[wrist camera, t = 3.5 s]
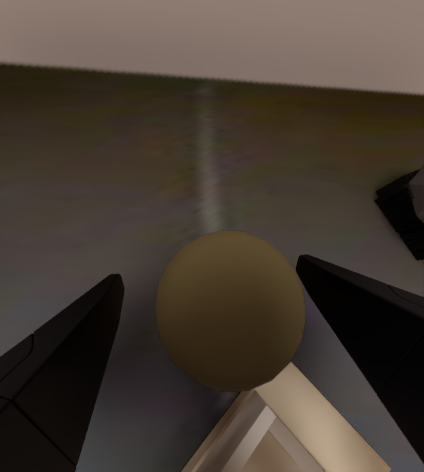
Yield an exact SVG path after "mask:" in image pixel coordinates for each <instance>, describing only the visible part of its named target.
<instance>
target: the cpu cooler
mask: <svg viewBox="0 0 424 472" xmlns="http://www.w3.org/2000/svg"><path fill="white" fill-rule="evenodd" d="M376 193H377V194H378V196H379V198H378V199H380V200H381V201H382V202H384V203H385V201H386V202H387V203H388V204H389V205H390V206H392V207H393V205H394V206H395V207H397V206H399V207H400V208H401V209H400V208H399V207H397V208H398V209H399V210H400V211H399V210H397V209H396V208H395V207H393V208H394V209H395V210H397V211H398V212H399V213H398V212H397V211H395V210H394V209H393V208H391V207H390V206H389V205H388V204H387V203H385V205H384V204H383V203H382V202H381V201H380V200H378V199H377V200H378V201H379V202H380V203H382V204H383V206H385V207H386V208H387V209H388V207H389V208H391V209H392V210H393V211H394V212H396V213H397V214H398V215H397V214H396V213H394V212H393V211H392V210H390V209H388V210H390V211H391V212H392V213H393V214H395V215H396V216H398V217H396V216H395V215H393V214H392V213H390V212H389V211H388V210H386V208H385V207H383V206H382V205H381V207H383V208H384V209H385V210H386V211H388V213H390V214H391V215H392V216H394V217H396V219H395V218H394V217H392V216H391V215H390V214H388V213H387V212H386V211H384V212H385V213H386V214H388V215H389V216H390V217H391V218H394V220H396V222H394V220H393V219H392V221H393V222H394V223H392V221H390V222H391V223H392V224H394V225H396V224H398V225H399V226H397V225H396V227H394V226H393V225H392V224H391V225H392V226H393V227H394V228H396V229H397V227H398V228H399V229H400V230H399V229H397V230H398V231H400V232H401V230H402V231H404V232H402V234H404V235H401V233H400V235H401V236H400V237H401V238H403V239H404V240H403V239H402V240H403V241H405V240H406V241H407V242H405V243H406V245H407V244H410V246H409V245H408V247H409V248H410V249H409V250H410V251H413V252H414V253H415V254H413V255H414V256H416V257H415V258H416V259H417V260H423V259H424V165H423V166H422V167H421V168H420V169H419V170H417V171H414V172H411V173H409V174H406V175H404V176H402V177H400V178H399V179H397V180H395V181H393V182H392V183H390V184H388V185H386V186H385V187H383V188H381V189H379V190H378V191H376ZM383 200H384V201H383ZM375 201H376V200H375ZM378 201H376V202H377V203H378V204H380V203H379V202H378ZM389 202H390V203H391V204H390V203H389ZM378 204H377V205H378ZM392 204H393V205H392ZM386 205H387V206H388V207H387V206H386ZM396 205H397V206H396ZM381 207H379V208H380V209H381V210H383V209H382V208H381ZM403 210H404V211H403ZM402 212H403V213H402ZM385 213H384V215H385V216H386V217H388V216H387V215H386V214H385ZM399 215H400V216H399ZM390 217H388V218H389V219H391V218H390ZM389 219H388V220H389ZM397 219H398V220H399V221H397ZM400 219H401V220H400ZM397 222H398V223H397ZM395 223H396V224H395ZM399 223H400V224H401V225H400V224H399ZM402 225H403V226H402ZM400 226H401V228H400ZM397 230H396V232H398V231H397ZM405 230H406V231H405ZM405 233H406V234H405ZM402 236H403V237H402ZM404 237H405V238H404ZM408 240H410V241H408ZM411 243H412V244H411ZM411 249H412V250H411ZM414 250H415V251H416V252H415V251H414ZM417 257H418V258H417Z"/></svg>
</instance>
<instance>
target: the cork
mask: <svg viewBox="0 0 424 472" xmlns="http://www.w3.org/2000/svg"><path fill="white" fill-rule="evenodd" d="M155 315H156V321H157V326H158V331H159V336H160V339H161V341H162V343H163V344H164V346H165V348H166V350H167V352H168V353H169V355H170V357H171V359H172V361H173V362H174V363H175V364H176V365H177V366H178V367H179V368H181V369H182V370H183V371H184V372H185V373H186V374H187V375H188V376H190V377H191V378H192V379H193V380H194V381H195V382H197V383H200V384H202V385H205V386H208V387H210V388H213V389H216V390H218V391H221V392H233V391H249V390H252V389H254V388H256V387H259V386H261V385H263V384H266V383H268V382H270V381H272V380H273V379H274V378H275V377H276V376H277V375H278V374H279V373H280V372H281V371H282V370H283V369H284V368H285V367H286V366H287V365H288V364H289V363H290V362H291V360H292V358H293V356H294V354H295V352H296V350H297V348H298V346H299V344H300V342H301V340H302V337H303V331H304V324H305V318H306V311H305V303H304V295H303V290H302V288H301V285H300V283H299V280H298V278H297V276H296V273H295V271H294V269H293V268H292V267H291V265H290V264H289V263H288V262H287V260H286V259H285V258H284V256H283V255H282V254H281V253H280V251H278V250H277V249H276V248H274V247H273V246H271V245H270V244H269V243H267V242H266V241H265V240H263V239H261V238H259V237H256V236H253V235H251V234H248V233H246V232H241V231H226V230H222V231H218V232H214V233H210V234H205V235H202V236H200V237H199V238H197V239H195V240H194V241H192V242H190V243H189V244H187V245H186V246H184V247H182V248H181V250H180V251H179V252H178V253H177V254H176V255H175V256H174V257H173V259H172V260H171V261H170V262H169V263H168V264H167V266H166V269H165V271H164V273H163V275H162V278H161V280H160V282H159V284H158V288H157V297H156V305H155Z"/></svg>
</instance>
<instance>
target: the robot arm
mask: <svg viewBox="0 0 424 472" xmlns="http://www.w3.org/2000/svg"><path fill="white" fill-rule="evenodd" d="M296 272H297V274H298V276H299V278H300V280H301V281H302V283H303V285H304V287H305V289H306V290H307V292H308V294H309V296H310V297H311V299H312V300H313V302H314V303H315V305H316V306H317V308H318V309H319V311H320V312H321V314H322V315H323V317H324V318H325V320H326V321H327V323H328V324H329V325H330V327H331V328H332V330H333V331H334V333H335V334H336V336H337V337H338V339H339V340H340V342H341V343H342V345H343V346H344V347H345V349H346V350H347V352H348V353H349V355H350V356H351V358H352V359H353V361H354V362H355V364H356V365H357V367H358V368H359V369H360V371H361V372H362V374H363V375H364V377H365V378H366V380H367V381H368V383H369V384H370V386H371V387H372V389H373V390H374V391H375V393H376V394H377V396H378V398H379V399H380V400H381V402H382V403H383V405H384V406H385V408H386V409H387V411H388V412H389V414H390V415H391V417H392V418H393V420H394V421H395V422H396V424H397V425H398V427H399V428H400V430H401V431H402V433H403V434H404V436H405V437H406V439H407V440H408V442H409V443H410V445H411V446H412V447H413V449H414V450H415V452H416V453H417V455H418V456H419V458H420V459H421V461H422V462H423V464H424V297H422V296H419V295H416V294H413V293H410V292H407V291H405V290H402V289H399V288H396V287H394V286H391V285H387V284H385V283H383V282H380V281H377V280H375V279H372V278H369V277H367V276H364V275H361V274H359V273H356V272H353V271H350V270H348V269H345V268H342V267H340V266H337V265H334V264H332V263H329V262H326V261H324V260H321V259H318V258H315V257H313V256H310V255H300V256H299V258H298V262H297V266H296ZM123 297H124V285H123V281H122V278H121V275H120V274H111V275H109V276H107V277H106V278H105V279H103V280H102V281H101V282H99V283H98V284H97V285H95V286H94V287H93V288H91V289H90V290H89V291H87V292H86V293H85V294H84V295H82V296H81V297H80V298H78V299H77V300H76V301H74V302H73V303H72V304H70V305H69V306H68V307H66V308H65V309H64V310H62V311H61V312H60V313H58V314H57V315H56V316H54V317H53V318H52V319H50V320H49V321H48V322H46V323H45V324H44V325H42V326H41V327H40V328H38V329H37V330H36V331H34V334H30V335H29V336H28V337H26V338H25V339H24V340H22V341H21V342H20V343H18V344H17V345H16V346H14V347H13V348H12V349H10V350H9V351H8V352H6V353H5V354H3V355H2V356H1V357H0V472H75V471H76V466H77V463H78V460H79V457H80V453H81V450H82V446H83V443H84V440H85V436H86V433H87V430H88V426H89V423H90V419H91V416H92V413H93V409H94V406H95V403H96V399H97V396H98V392H99V389H100V386H101V382H102V379H103V376H104V372H105V369H106V365H107V362H108V359H109V355H110V352H111V349H112V345H113V342H114V339H115V335H116V332H117V328H118V325H119V320H120V315H121V309H122V303H123Z"/></svg>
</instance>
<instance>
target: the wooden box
mask: <svg viewBox="0 0 424 472" xmlns="http://www.w3.org/2000/svg"><path fill="white" fill-rule="evenodd" d="M390 470H391V468H390V467H389V466H388V465H387V464H386V463H385V462H384V461H383V460H382V459H381V458H380V457H379V455H378V454H377V453H376V452H375V451H374V450H373V449H372V448H371V447H370V446H369V445H368V444H367V443H366V442H365V440H364V439H363V438H362V437H361V436H360V435H359V434H358V433H357V432H356V431H355V430H354V429H353V428H352V426H351V425H350V424H349V423H348V422H347V421H346V420H345V419H344V418H343V417H342V416H341V415H340V414H339V413H338V411H337V410H336V409H335V408H334V407H333V406H332V405H331V404H330V403H329V402H328V401H327V400H326V399H325V397H324V396H323V395H322V394H321V393H320V392H319V391H318V390H317V389H316V388H315V387H314V386H313V385H312V384H311V382H310V381H309V380H308V379H307V378H306V377H305V376H304V375H303V374H302V373H301V372H300V371H299V370H298V368H297V367H296V366H295V365H294V364H293V363H292V362H290V363H289V364H288V365H287V366H286V367H285V368H284V369H283V370H282V371H281V372H280V373H279V374H278V375H277V376H276V377H275V378H274V379H273V380H272V381H270V382H268V383H266V384H263V385H261V386H259V387H256V388H254V389H252V390H249V391H241V393H240V394H239V395H238V397H237V398H236V399H235V401H234V402H233V403H232V405H231V406H230V407H229V409H228V410H227V411H226V413H225V414H224V415H223V417H222V418H221V419H220V421H219V422H218V423H217V424H216V426H215V427H214V428H213V430H212V431H211V432H210V434H209V435H208V436H207V438H206V439H205V440H204V442H203V443H202V444H201V446H200V447H199V448H198V450H197V451H196V452H195V454H194V455H193V456H192V458H191V459H190V460H189V462H188V463H187V464H186V466H185V467H184V468H183V470H182V471H181V472H390Z"/></svg>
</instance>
